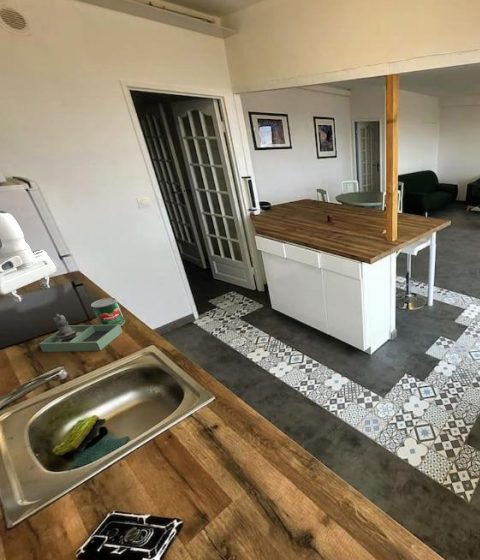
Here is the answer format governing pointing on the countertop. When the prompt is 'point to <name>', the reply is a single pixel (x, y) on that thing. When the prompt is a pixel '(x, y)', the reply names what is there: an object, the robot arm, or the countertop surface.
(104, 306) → the canned tomato
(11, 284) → the robot arm
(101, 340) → the tray
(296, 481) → the countertop surface
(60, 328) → the grey statuette
